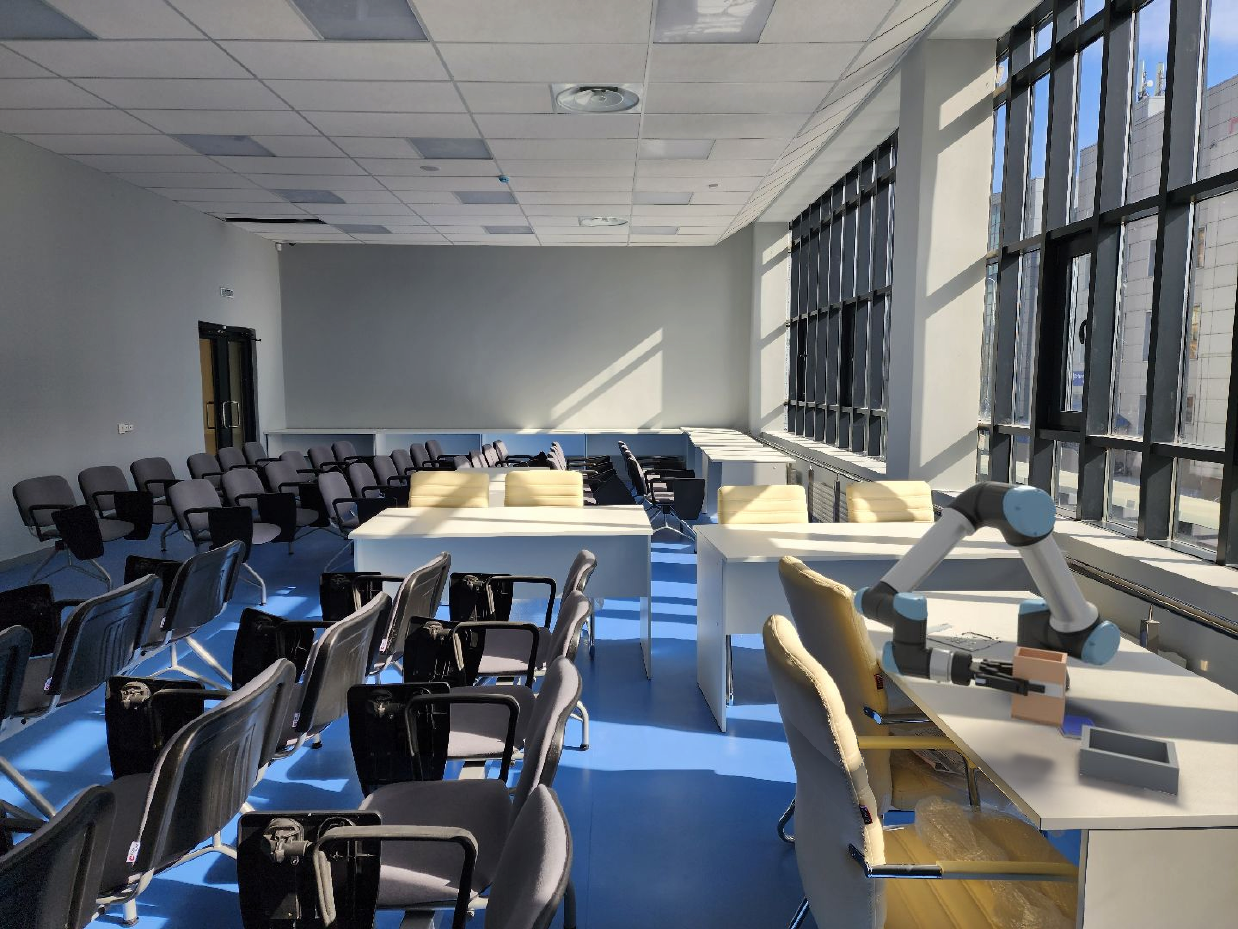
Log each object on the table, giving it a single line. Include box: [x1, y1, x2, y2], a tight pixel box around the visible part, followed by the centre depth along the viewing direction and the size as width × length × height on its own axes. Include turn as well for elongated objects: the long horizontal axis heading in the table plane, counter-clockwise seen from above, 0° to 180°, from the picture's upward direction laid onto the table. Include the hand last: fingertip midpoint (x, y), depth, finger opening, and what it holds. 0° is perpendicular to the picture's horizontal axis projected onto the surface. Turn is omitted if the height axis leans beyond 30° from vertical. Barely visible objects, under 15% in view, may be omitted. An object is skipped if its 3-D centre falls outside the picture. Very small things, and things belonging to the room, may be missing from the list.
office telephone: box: [926, 623, 1002, 649], centre depth 268 cm, size 23×3×20 cm
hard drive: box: [1058, 714, 1097, 740], centre depth 194 cm, size 2×8×12 cm
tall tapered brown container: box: [1010, 645, 1068, 728], centre depth 180 cm, size 8×10×14 cm
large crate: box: [1078, 725, 1180, 796], centre depth 172 cm, size 15×17×6 cm
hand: (1063, 685), depth 178 cm, fingers closed on tall tapered brown container, 8 cm apart
